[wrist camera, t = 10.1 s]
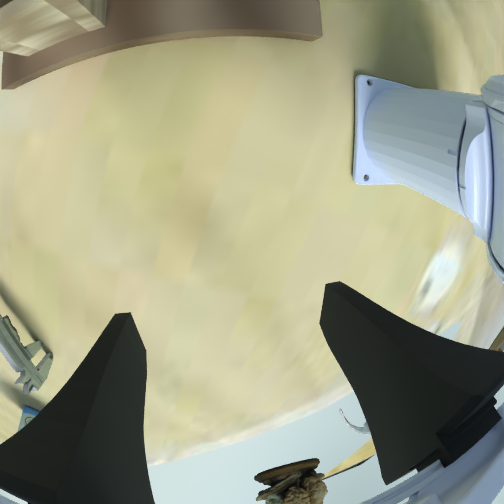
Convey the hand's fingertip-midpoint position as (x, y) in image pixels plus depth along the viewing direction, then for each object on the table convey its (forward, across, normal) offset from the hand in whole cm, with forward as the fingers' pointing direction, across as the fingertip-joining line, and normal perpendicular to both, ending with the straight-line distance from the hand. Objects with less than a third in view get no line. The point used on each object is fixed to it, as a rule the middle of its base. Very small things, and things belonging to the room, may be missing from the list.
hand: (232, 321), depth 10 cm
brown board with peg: (+9, +3, -18) cm, 21 cm away
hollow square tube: (+8, +8, -16) cm, 20 cm away
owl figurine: (+10, -9, +66) cm, 67 cm away
